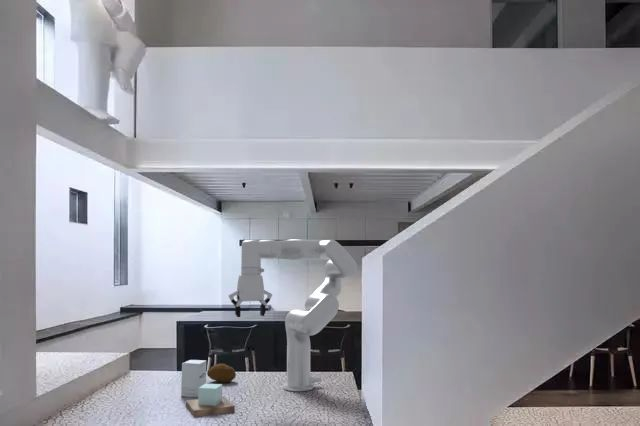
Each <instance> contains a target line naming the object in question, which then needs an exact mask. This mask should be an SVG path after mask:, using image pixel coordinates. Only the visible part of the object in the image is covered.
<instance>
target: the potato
mask: <svg viewBox="0 0 640 426" xmlns="http://www.w3.org/2000/svg"><path fill="white" fill-rule="evenodd" d="M236 374H237V373H236V370H235V369H234V368H233V366H229V365H227V364H226V363H217V364H214V365H212V366H211V367H210V368H209V369H207V371H206V376H207V377H208V378H210V379H211V380H213V381H215V382H218V383H221V384H222V383H224V384H225V383H230V382H233V381H234V379H235V378H236V377H237V375H236Z"/></svg>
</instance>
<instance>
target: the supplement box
mask: <svg viewBox="0 0 640 426" xmlns="http://www.w3.org/2000/svg"><path fill="white" fill-rule="evenodd" d="M204 384H207V360H204V359H203V360H202V359H201V360H200V359H189V360H186V361H185V362H182V363H181V385H180V386H181V387H180V388H181V389H180V390H181V391H180V396H181V397H186V398H187V397H190V398H198V389H199V387H201V386H202V385H204Z"/></svg>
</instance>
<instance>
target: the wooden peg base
mask: <svg viewBox="0 0 640 426" xmlns="http://www.w3.org/2000/svg"><path fill="white" fill-rule="evenodd" d="M235 406H236V405H234V404H233V403H232V402H231V401H230V400H229V399H228V398H227V397H225V396H223V395H222V401H221V402H220V403H219V404H217V405H216V406H211V405H198V398H196V399H194V398H193V399H188V400H187V399H186V400H185V407H186V409H187V411H188V412H189V413H190V414H191V416H193V417H194V418H195V417H203V416H210V415H211V416H212V415H218V414H219V415H220V414H227V413H235V411H236V410H235V409H236V408H235Z"/></svg>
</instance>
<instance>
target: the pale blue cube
mask: <svg viewBox="0 0 640 426" xmlns="http://www.w3.org/2000/svg"><path fill="white" fill-rule="evenodd" d="M222 396H223V384H222V383H206V384H204V385H202V386H201V387H199V389H198V397H197V399H198V405H211V406H216V405H217V404H219V403H220V402H221V401H222Z"/></svg>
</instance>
